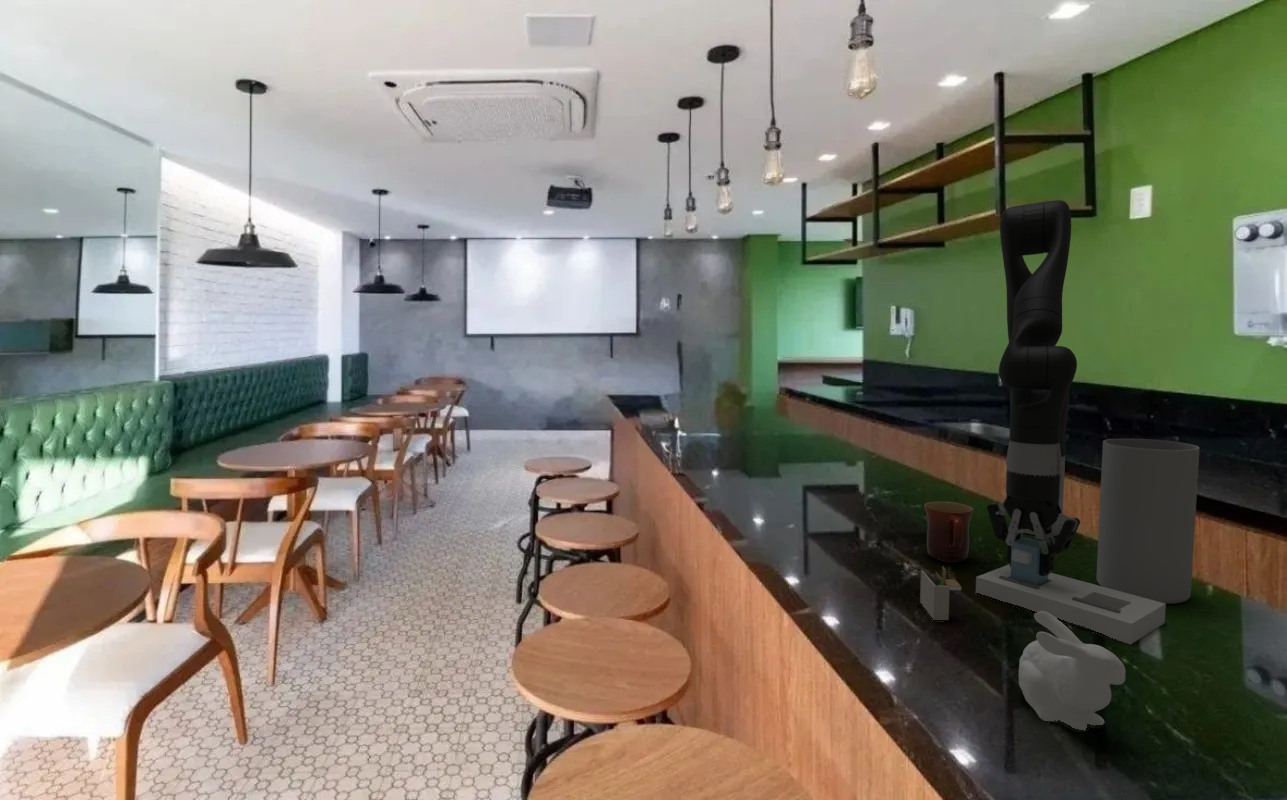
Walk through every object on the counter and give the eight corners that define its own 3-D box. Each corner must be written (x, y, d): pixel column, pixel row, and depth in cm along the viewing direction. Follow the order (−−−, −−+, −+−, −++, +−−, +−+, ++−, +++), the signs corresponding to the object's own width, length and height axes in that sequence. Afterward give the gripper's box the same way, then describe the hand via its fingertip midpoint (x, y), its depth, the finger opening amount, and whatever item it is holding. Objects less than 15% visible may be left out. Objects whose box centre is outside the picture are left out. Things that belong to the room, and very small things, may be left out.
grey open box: (945, 606, 103) (947, 558, 103) (960, 624, 97) (962, 573, 96) (920, 605, 104) (921, 557, 103) (933, 623, 97) (934, 572, 96)
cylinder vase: (1169, 581, 111) (1177, 440, 109) (1205, 609, 100) (1215, 451, 97) (1086, 574, 115) (1092, 437, 113) (1111, 600, 104) (1118, 448, 102)
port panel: (1013, 579, 114) (1013, 561, 113) (1164, 623, 95) (1165, 601, 95) (975, 594, 107) (976, 575, 107) (1130, 644, 89) (1131, 621, 88)
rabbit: (1133, 742, 67) (1139, 632, 66) (1048, 746, 67) (1053, 636, 66) (1053, 681, 79) (1057, 588, 78) (981, 685, 79) (984, 591, 78)
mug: (918, 549, 130) (919, 500, 129) (964, 552, 129) (966, 502, 128) (932, 570, 119) (934, 516, 118) (983, 572, 117) (985, 518, 116)
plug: (1022, 589, 108) (1024, 537, 108) (1047, 596, 105) (1049, 543, 104) (1005, 596, 106) (1007, 543, 105) (1030, 604, 102) (1032, 549, 101)
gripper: (1093, 472, 100) (1088, 579, 101) (1001, 459, 112) (998, 555, 113) (1070, 479, 96) (1065, 589, 97) (977, 464, 108) (974, 563, 109)
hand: (1029, 570), depth 105 cm, fingers closed on plug, 4 cm apart
